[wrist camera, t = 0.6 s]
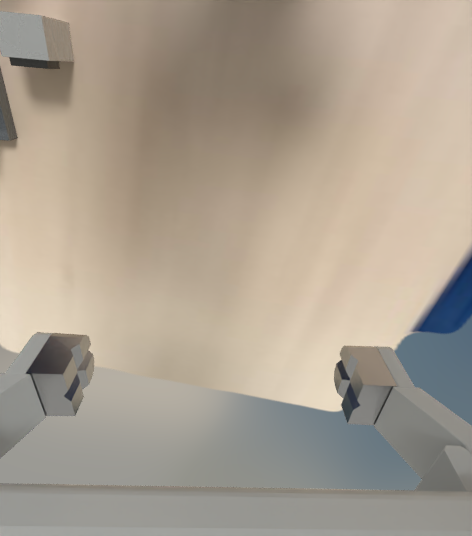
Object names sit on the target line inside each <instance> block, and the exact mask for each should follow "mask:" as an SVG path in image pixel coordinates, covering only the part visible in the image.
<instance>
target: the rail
mask: <svg viewBox="0 0 472 536" xmlns="http://www.w3.org/2000/svg"><path fill="white" fill-rule="evenodd" d="M15 138H17V135H16V130H15V126H14V122H13V118H12V114H11V110H10V106H9V101H8V97H7V93H6V89H5V85H4V81H3V77H2V73H1V68H0V140H12V139H15Z"/></svg>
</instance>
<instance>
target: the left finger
mask: <svg viewBox="0 0 472 536" xmlns="http://www.w3.org/2000/svg"><path fill="white" fill-rule="evenodd" d="M0 50H1V54H2V56H4V57H9V58H10V62H11V65H13V66H24V67H35V68H45V69H60V67H59V61H72V62H74V55H73V48H72V41H71V34H70V27H69V23H67V22H63V21H60V20H56V19H52V18H49V17H45V16H41V15H31V14H22V13H12V12H2V11H0Z"/></svg>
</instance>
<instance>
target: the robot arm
mask: <svg viewBox="0 0 472 536" xmlns="http://www.w3.org/2000/svg"><path fill="white" fill-rule="evenodd" d="M90 345H91V343H90V339H89V336H87V335H76V334H61V333H41V332H37V333H36V334H34V335H33V336H32V337H31V338H30V340H29V341H28V343H27V344H26V345H25V347H24V348H23V350H22V351H21V352H20V354H19V355H18V356H17V358H16V359H15V361H14V362H13V363H12V365H11V366H10V367H9V369H8V370H7V372H6V373H0V458H1V457H3V456H4V455H5V454H6V453H7V452H8V451H9V450H10V449H11V448H12V447H14V446H15V445H16V444H17V443H18V442H19V441H20V440H21V439H23V438H24V437H25V436H26V435H27V434H28V433H29V432H30V431H31V430H33V429H34V428H35V427H36V426H37V425H38V424H39V423H40V422H41V421H43V420H44V419H45V418H46V416H75V415H76V413H77V410H78V408H79V406H80V404H81V402H82V399H83V397H84V396H83V392H82V389H84V388H85V387H86V386H88V385H89V383H90V381H91V378H92V375H93V371H94V357H93V354H92V353H91V352H90V351H89V350H88V349H89V347H90ZM340 356H341V359H342V360H341V361H339V362H338V363H337V364H336V367H335V371H334V382H335V387H336V390H337V393H338V394H339V395H340V396H341V397H342V398H344V399H343V402H342V404H341V405H342V408H343V411H344V414H345V417H346V420H347V423H348V424H362V425H375V426H374V427H375V428H376V429H377V430H378V431H379V432H380V434H381V435H382V436H383V437H384V438H385V439H386V440H387V441H388V442H389V443H390V445H391V446H392V447H393V448H394V449H395V450H396V451H397V452H398V453H399V454H400V456H401V457H402V458H403V459H404V460H405V461H406V462H407V463H408V464H409V465H410V466H411V467H412V469H413V470H414V471H415V472H416V473H417V474H418V475H419V476H420V477H421V479H422V480H421V482H420V483H419V485H418V486H417V487H416V489H415V490H414V491H408V490H352V489H295V488H240V487H239V488H237V487H179V486H175V487H174V486H120V485H119V486H118V485H65V484H9V483H0V536H472V426H471V425H469V424H468V423H467V422H465V421H464V420H463V419H461V418H460V417H458V416H457V415H456V414H454V413H453V412H452V411H450V410H449V409H448V408H446V407H445V406H444V405H442V404H441V403H440V402H438V401H437V400H436V399H434V398H433V397H431V396H430V395H428V394H427V393H426V392H425V391H423V390H422V389H421V388H415V387H414V385H413V383H412V381H411V380H410V378H409V376H408V375H407V373H406V371H405V369H404V368H403V366H402V364H401V363H400V361H399V359H398V357H397V356H396V354H395V352H394V350H393V349H392V348H390V347H371V346H343V348H342V349H341V352H340Z"/></svg>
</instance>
